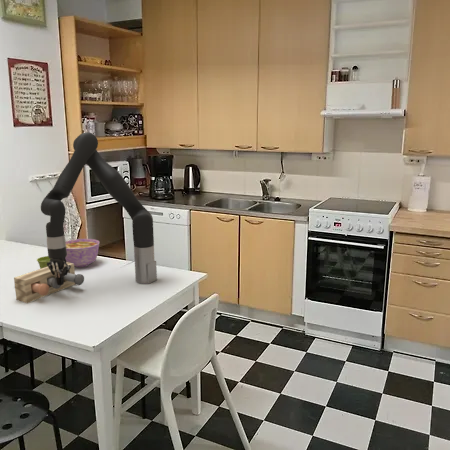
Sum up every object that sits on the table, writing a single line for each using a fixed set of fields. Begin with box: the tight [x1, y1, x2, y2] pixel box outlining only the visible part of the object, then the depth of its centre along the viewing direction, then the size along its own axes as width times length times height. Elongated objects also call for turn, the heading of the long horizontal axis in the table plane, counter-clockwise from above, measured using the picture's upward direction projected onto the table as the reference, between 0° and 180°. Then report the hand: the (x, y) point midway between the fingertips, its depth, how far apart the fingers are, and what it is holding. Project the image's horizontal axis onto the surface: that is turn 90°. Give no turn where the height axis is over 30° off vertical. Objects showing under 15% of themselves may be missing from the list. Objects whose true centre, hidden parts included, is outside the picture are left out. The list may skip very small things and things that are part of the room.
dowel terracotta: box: [31, 283, 49, 295], centre depth 196 cm, size 11×5×5 cm, turn 60°
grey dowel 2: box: [64, 273, 85, 286], centre depth 207 cm, size 11×5×5 cm, turn 60°
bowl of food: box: [65, 238, 100, 268], centre depth 241 cm, size 20×20×12 cm
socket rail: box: [13, 262, 76, 304], centre depth 204 cm, size 7×26×10 cm, turn 150°
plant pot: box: [36, 255, 50, 269], centre depth 226 cm, size 9×9×9 cm
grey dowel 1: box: [47, 277, 61, 289], centre depth 203 cm, size 11×5×5 cm, turn 60°
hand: (60, 284), depth 199 cm, fingers closed
